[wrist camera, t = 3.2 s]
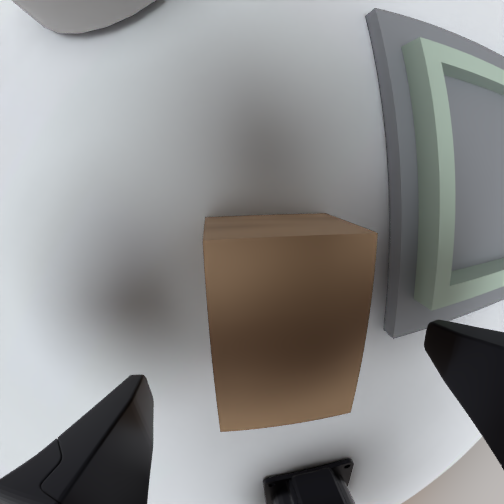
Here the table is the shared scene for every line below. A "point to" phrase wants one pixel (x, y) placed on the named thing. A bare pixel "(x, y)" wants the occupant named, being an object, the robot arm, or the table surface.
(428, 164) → the grey tray
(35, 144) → the table surface
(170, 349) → the table surface
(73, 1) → the can
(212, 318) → the brown rectangular block
